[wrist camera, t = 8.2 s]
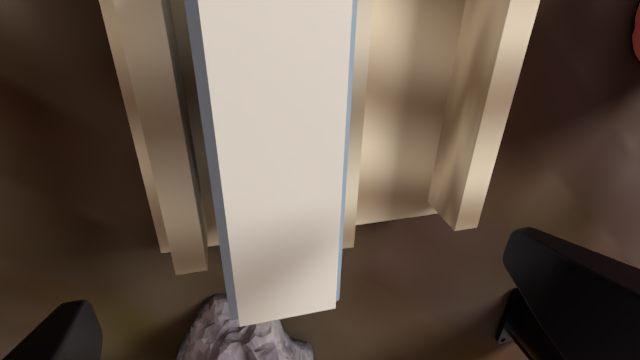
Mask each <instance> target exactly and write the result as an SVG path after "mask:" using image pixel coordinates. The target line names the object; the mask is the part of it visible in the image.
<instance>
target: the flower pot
mask: <svg viewBox="0 0 640 360" xmlns="http://www.w3.org/2000/svg"><path fill="white" fill-rule="evenodd" d="M633 47H634V51H635V54H636V57H637V58H638V60H639V61H640V4H639V7H638V9H637V13H636V17H635V29H634V32H633Z"/></svg>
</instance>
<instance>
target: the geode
mask: <svg viewBox="0 0 640 360" xmlns="http://www.w3.org/2000/svg"><path fill="white" fill-rule="evenodd" d="M175 360H314V358H313V350H312V346H311V344H310V343H309V342H305V341H301V340H292V339H291V338H290V337H289V336H288V334H287V333H286V331H285V330H284V329H283V327H282V324H281V321H280V319H278V320H273V321H268V322H263V323H257V324H252V325H247V326H242V327H240V325H239V319H238V320H233V321H230V314H229V307H228V300H227V294H215V295H214V296H212V297H211V298H209V299H208V301H207V302H206V303H205V304H204V305H203V306H202V307H201V308H200V309H199V310H198V312H197V314H196V317H195V319H194V321H193V323H192V325H191V327H190V329H189V331H188V333H187V334H186V336H185V337H184V339H183V340H182V342H181V344H180V347H179V350H178V353H177V356H176V359H175Z"/></svg>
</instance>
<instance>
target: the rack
mask: <svg viewBox="0 0 640 360" xmlns="http://www.w3.org/2000/svg"><path fill="white" fill-rule="evenodd" d="M99 3H100V7H101V11H102V15H103V20H104V24H105V28H106V32H107V36H108V40H109V44H110V48H111V52H112V56H113V60H114V64H115V68H116V72H117V76H118V80H119V84H120V88H121V92H122V96H123V100H124V105H125V109H126V113H127V117H128V121H129V125H130V129H131V133H132V137H133V141H134V145H135V149H136V153H137V157H138V161H139V165H140V169H141V173H142V177H143V181H144V185H145V190H146V194H147V198H148V202H149V206H150V210H151V214H152V218H153V222H154V226H155V230H156V234H157V238H158V242H159V246H160V250H161V253H166V252H171V256H172V260H173V265H174V269H175V273H176V275H179V274H185V273H192V272H198V271H204V270H208V246H215V245H219V238H218V231H217V224H216V217H215V210H214V203H213V196H212V189H211V182H210V176H209V169H208V162H207V155H206V148H205V141H204V134H203V127H202V120H201V113H200V106H199V100H198V93H197V86H196V79H195V72H194V65H193V58H192V51H191V44H190V37H189V30H188V24H187V17H186V10H185V3H184V0H99ZM539 3H540V0H358V2H357V19H356V35H355V51H354V67H353V83H352V100H351V116H350V132H349V148H348V164H347V181H346V197H345V213H344V229H343V246H342V249H344V248H350V247H354V238H355V225H360V224H367V223H374V222H381V221H388V220H395V219H402V218H409V217H416V216H423V215H429V214H436V213H438V214H439V215H440V216H441V217H442V218H443V219H444V220H445V221H446V222H447V223H448V224H449V225H450V227H451V228H452V229H453V230H454V231H457V230H464V229H470V228H476V227H477V226H478V222H479V218H480V215H481V211H482V208H483V204H484V200H485V197H486V193H487V190H488V186H489V183H490V179H491V175H492V172H493V168H494V165H495V161H496V157H497V154H498V150H499V147H500V143H501V139H502V136H503V132H504V129H505V125H506V121H507V118H508V114H509V111H510V107H511V103H512V100H513V96H514V93H515V89H516V86H517V82H518V78H519V75H520V71H521V68H522V64H523V60H524V57H525V53H526V50H527V46H528V42H529V39H530V35H531V32H532V28H533V24H534V21H535V17H536V14H537V10H538V7H539Z"/></svg>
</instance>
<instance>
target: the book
mask: <svg viewBox="0 0 640 360" xmlns="http://www.w3.org/2000/svg"><path fill="white" fill-rule="evenodd" d="M357 2H358V0H184V3H185V10H186V17H187V24H188V30H189V37H190V44H191V51H192V58H193V65H194V72H195V79H196V86H197V93H198V100H199V106H200V113H201V120H202V127H203V134H204V141H205V148H206V155H207V162H208V169H209V176H210V182H211V189H212V196H213V203H214V210H215V217H216V224H217V231H218V238H219V245H220V251H221V258H222V265H223V272H224V279H225V286H226V293H227V300H228V307H229V314H230V321H233V320H238V319H239V325H240V327H242V326H247V325H252V324H257V323H263V322H268V321H273V320H278V319H283V318H288V317H293V316H299V315H304V314H309V313H314V312H319V311H324V310H329V309H335V308H336V301H338V300H339V294H340V278H341V262H342V246H343V229H344V213H345V197H346V181H347V164H348V148H349V132H350V116H351V100H352V83H353V67H354V51H355V35H356V19H357Z"/></svg>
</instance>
